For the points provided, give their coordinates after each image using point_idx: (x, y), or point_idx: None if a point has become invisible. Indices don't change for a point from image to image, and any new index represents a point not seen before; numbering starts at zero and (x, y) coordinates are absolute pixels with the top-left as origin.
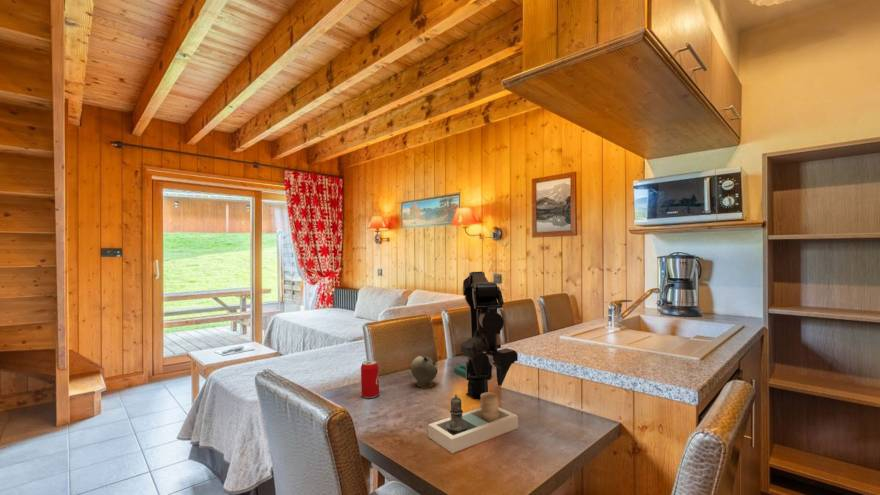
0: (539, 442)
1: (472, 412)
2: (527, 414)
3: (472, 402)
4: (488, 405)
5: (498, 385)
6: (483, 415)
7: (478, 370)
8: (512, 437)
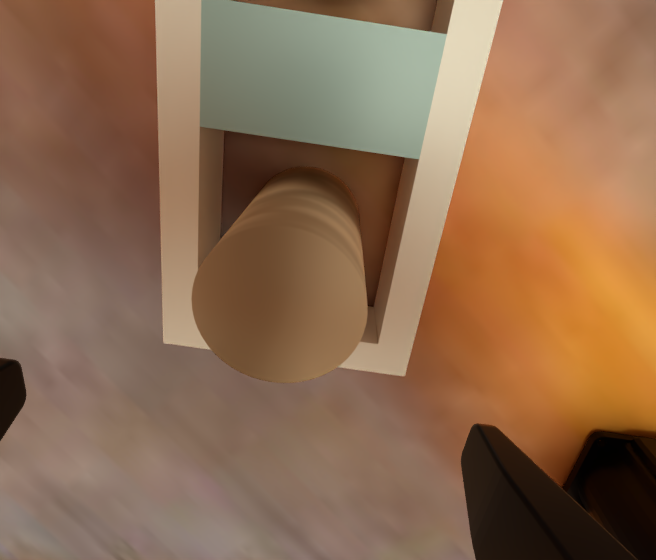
0: (4, 251)
1: (418, 185)
2: (268, 445)
3: (602, 395)
4: (239, 220)
5: (14, 360)
6: (302, 185)
7: (506, 534)
8: (125, 201)
